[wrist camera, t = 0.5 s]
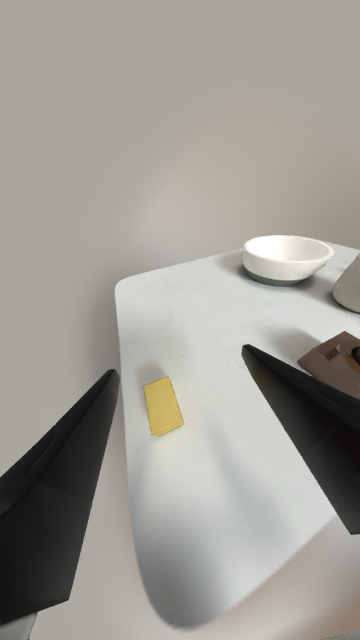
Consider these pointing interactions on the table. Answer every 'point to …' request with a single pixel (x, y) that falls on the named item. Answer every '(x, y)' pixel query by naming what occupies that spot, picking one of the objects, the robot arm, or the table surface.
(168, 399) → the yellow block
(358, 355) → the dark grey short cylinder
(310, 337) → the table surface
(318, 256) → the bowl
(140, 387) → the table surface
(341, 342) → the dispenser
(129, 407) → the table surface
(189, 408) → the table surface
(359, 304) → the planter
